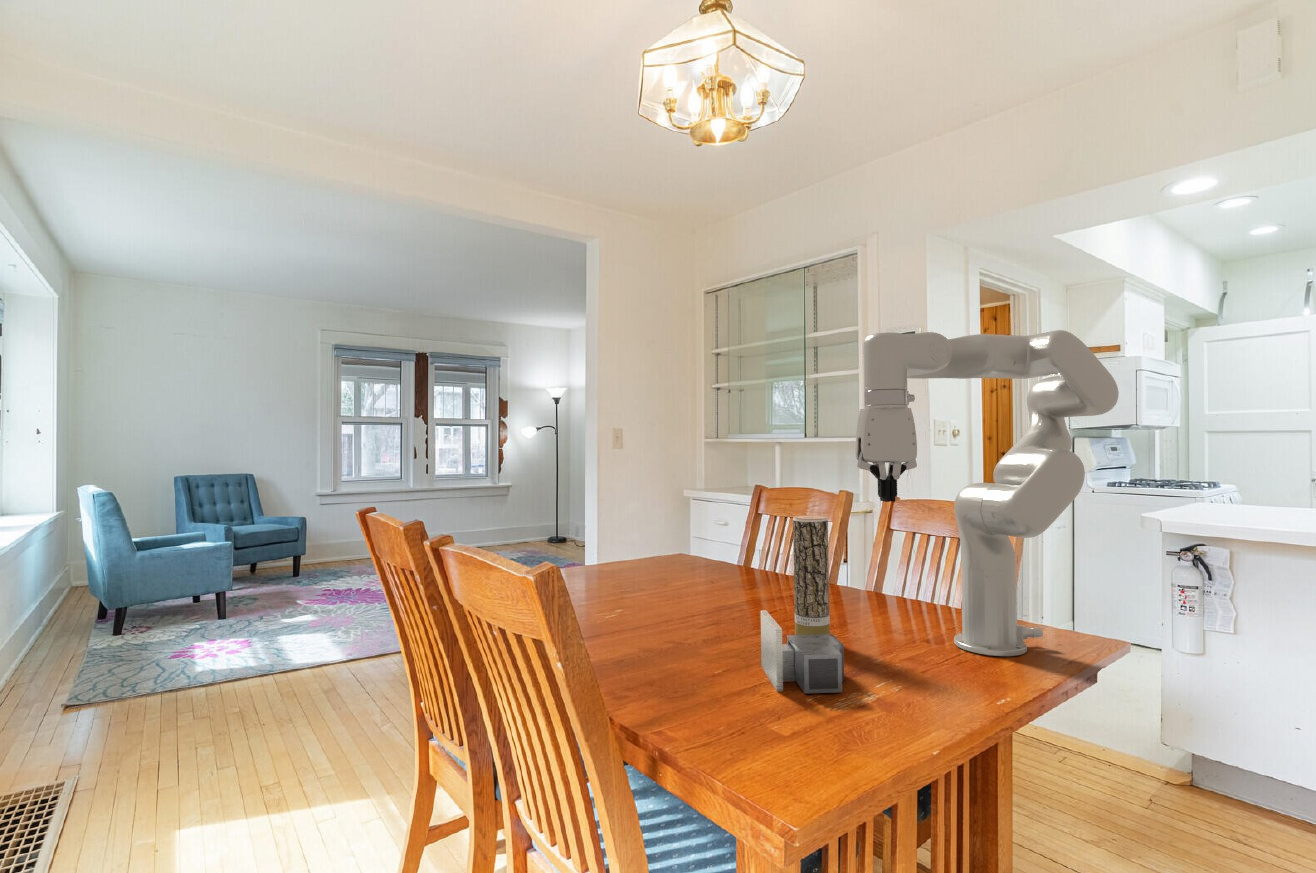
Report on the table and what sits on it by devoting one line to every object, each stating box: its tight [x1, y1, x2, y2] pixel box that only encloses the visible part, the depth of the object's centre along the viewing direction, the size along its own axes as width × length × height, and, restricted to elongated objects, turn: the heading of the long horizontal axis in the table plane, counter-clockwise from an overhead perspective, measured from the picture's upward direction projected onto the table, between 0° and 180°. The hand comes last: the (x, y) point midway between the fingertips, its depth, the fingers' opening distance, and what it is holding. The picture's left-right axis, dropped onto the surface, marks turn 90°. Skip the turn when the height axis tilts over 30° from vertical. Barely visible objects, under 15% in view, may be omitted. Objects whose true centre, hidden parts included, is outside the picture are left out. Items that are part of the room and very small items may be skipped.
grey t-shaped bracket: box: [760, 609, 796, 692], centre depth 112 cm, size 11×12×10 cm
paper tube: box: [792, 515, 831, 635], centre depth 131 cm, size 7×7×25 cm
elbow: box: [786, 633, 845, 694], centre depth 109 cm, size 8×11×6 cm
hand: (887, 500), depth 120 cm, fingers closed
